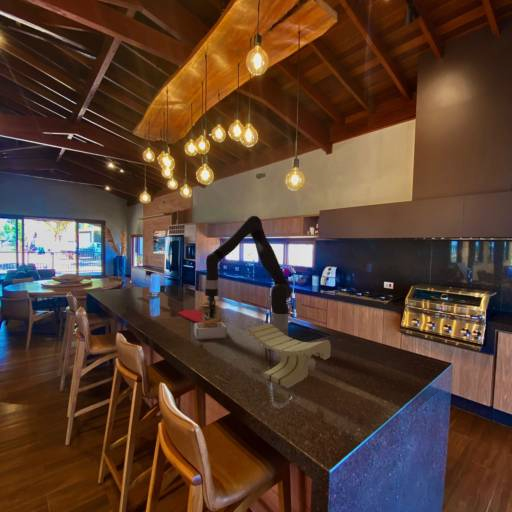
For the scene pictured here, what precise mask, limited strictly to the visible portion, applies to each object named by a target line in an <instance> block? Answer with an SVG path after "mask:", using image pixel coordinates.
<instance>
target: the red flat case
mask: <svg viewBox="0 0 512 512" xmlns="http://www.w3.org/2000/svg"><path fill="white" fill-rule="evenodd" d="M177 315H178V316H180V317H182V318H185V319H187V320H188V319H189V320H188V321H191V322H193V323H202V320H203V311H200V310H197V309H186V310H181V311H179V312H177ZM218 322H223V323H224V324H225V322H224V321H222V320H221V319H220V318H218Z"/></svg>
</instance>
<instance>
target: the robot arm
mask: <svg viewBox="0 0 512 512" xmlns="http://www.w3.org/2000/svg"><path fill="white" fill-rule="evenodd" d="M249 235H250V236H251V238H252V240H253V242H254V244H255V248H256V251H257V255H258V258H259V261H260V263H261V265H262V267H263V269H264V270H265V271H266V272H267V273H268V275H269V276H270V277H271V279H272V281H273V283H274V285H273V286H272V288H271V292H270V307H271V323H270V324H272V325H274V326H275V328H277V329H279V330H280V332H282V333H284V334H285V335H286V336H288V337H289V315H290V314H289V312H290V311H289V307H288V306H287V300H289V299H290V298H291V296H292V287H291V285H290V283H289V281H288V280H287V279H286V277H285V274H284V273H283V269H282V268H281V265H280V263H279V260H278V258H277V256H276V253H275V251H274V249H273V247H272V245H271V244H270V242H269V241H268V239H267V237H266V234H265V231H264V227H263V222H262V220H261V218H260V217H259V216H256V215H251V216H248V218H247V219H246V220H245V221H244V222H243V223H242V225H241V226H240V227H239V228H238V229H237V230H236V231H235V232H234V233H233V234H232V235H230V236H229V238H227V239H226V240H225V241H223V243H221V244H220V245H219V246H218V247H217V249H214V251H212V252H211V253H209V254H208V255H207V256H206V260H205V269H206V274H205V285H204V296H206V297H207V300H206V301H207V303H206V305H209V307H210V318H213V317H214V311H215V305H216V298H215V297H217V296H219V263H220V262H221V261H222V260H223V259H225V257H226V256H229V254H230V253H232V252H233V251H234V250H235V249H236V248H237V247H238V246H240V245H239V244H240V243H241V242H242V241H243V240H244V239H245V238H246V237H247V236H249ZM210 305H211V306H210ZM212 307H213V309H212Z"/></svg>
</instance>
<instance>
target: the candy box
mask: <svg viewBox="0 0 512 512" xmlns="http://www.w3.org/2000/svg"><path fill="white" fill-rule="evenodd" d="M210 306H211V305H210ZM219 307H220V306H219V304H215V311H214V317H213V318H210V307H209V305H207V304H203V306H202V312H203V320H202V328H213V327H218V319H219V311H220V308H219ZM212 309H213V307H212Z"/></svg>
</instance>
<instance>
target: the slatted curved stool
mask: <svg viewBox="0 0 512 512" xmlns="http://www.w3.org/2000/svg"><path fill="white" fill-rule="evenodd" d="M248 335H249V336H252V337H253V340H256V341H257V340H258V343H259V344H261V345H262V344H263V348H266V349H268V350H272V351H274V352H276V353H281V360H280V362H279V363H277V365H276V366H274V367H272V368H271V369H268V370H266V371H264V372H263V374H262V377H263V378H265V379H267V380H270V381H271V382H273V383H276V384H277V385H280V386H282V387H285V388H287V389H289V388H291V387H293V386H294V385H296V384H298V383H300V382H302V381H303V380H305V379H306V378H307V377H308V374H309V373H308V372H309V365H310V364H309V363H310V360H311V357H312V356H316V357H319V358H321V359H323V360H324V361H326V360H327V359H329V358H331V350H332V349H331V347H332V345H331V341H330V340H329V339H325V340H321V341H318V342H315V341H313V342H306V341H301V340H298V339H296V338H295V339H294V338H292V337H290V336H289V335H288V336H286V335H285V334H284V333H282V332H280V330H279V329H277V328H275V326H274V325H272V324H271V323H265V324H260V325H256V326H253V327H249V328H248ZM305 377H306V378H305ZM304 378H305V379H304Z"/></svg>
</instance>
